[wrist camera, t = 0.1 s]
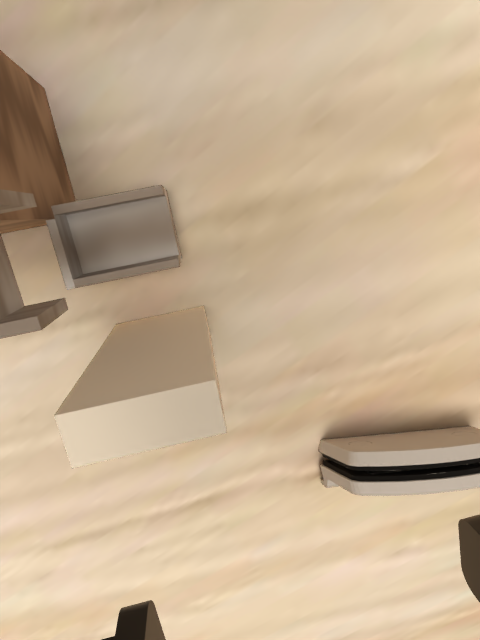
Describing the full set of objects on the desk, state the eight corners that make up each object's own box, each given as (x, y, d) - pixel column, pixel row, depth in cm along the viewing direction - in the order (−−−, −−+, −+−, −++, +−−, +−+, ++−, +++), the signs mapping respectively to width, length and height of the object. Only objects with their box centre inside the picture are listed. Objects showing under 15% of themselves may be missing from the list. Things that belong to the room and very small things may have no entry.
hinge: (317, 483, 44) (351, 517, 34) (313, 437, 45) (345, 457, 35) (467, 468, 46) (541, 496, 36) (462, 423, 46) (533, 439, 37)
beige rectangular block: (116, 324, 38) (53, 415, 21) (204, 305, 38) (215, 379, 21) (124, 355, 39) (71, 468, 21) (210, 336, 39) (227, 433, 22)
